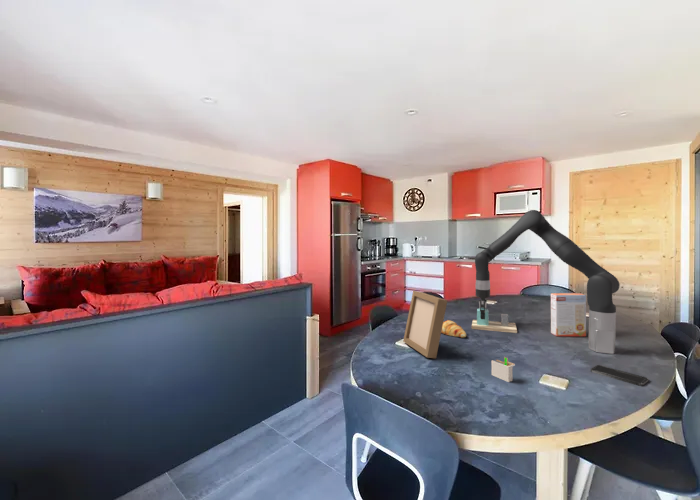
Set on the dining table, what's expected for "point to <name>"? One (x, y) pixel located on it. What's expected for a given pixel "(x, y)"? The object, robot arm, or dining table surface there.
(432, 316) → the photo frame
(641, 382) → the dark grey flat bar
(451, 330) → the croissant
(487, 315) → the light blue cube
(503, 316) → the right steel post
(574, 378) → the dining table surface
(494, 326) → the birch board
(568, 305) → the cracker box
